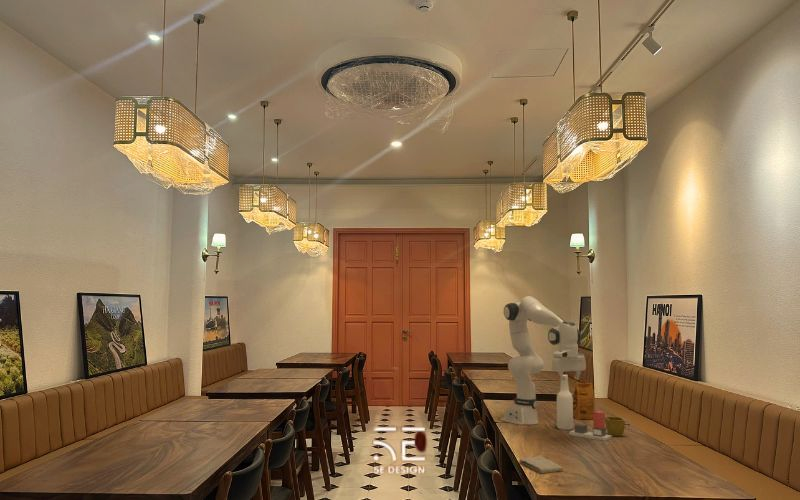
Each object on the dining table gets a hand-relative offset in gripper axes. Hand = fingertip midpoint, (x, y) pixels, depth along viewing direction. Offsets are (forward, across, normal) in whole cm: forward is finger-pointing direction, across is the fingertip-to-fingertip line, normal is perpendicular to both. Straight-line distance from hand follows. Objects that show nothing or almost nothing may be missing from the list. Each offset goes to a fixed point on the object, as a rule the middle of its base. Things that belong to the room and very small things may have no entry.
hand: (569, 379), depth 291 cm
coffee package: (+31, -48, -41) cm, 71 cm away
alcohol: (+31, -18, -24) cm, 43 cm away
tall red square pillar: (+26, -19, +1) cm, 32 cm away
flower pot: (+31, -32, 0) cm, 45 cm away
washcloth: (+32, +45, +30) cm, 63 cm away
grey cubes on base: (+31, -17, -3) cm, 35 cm away
